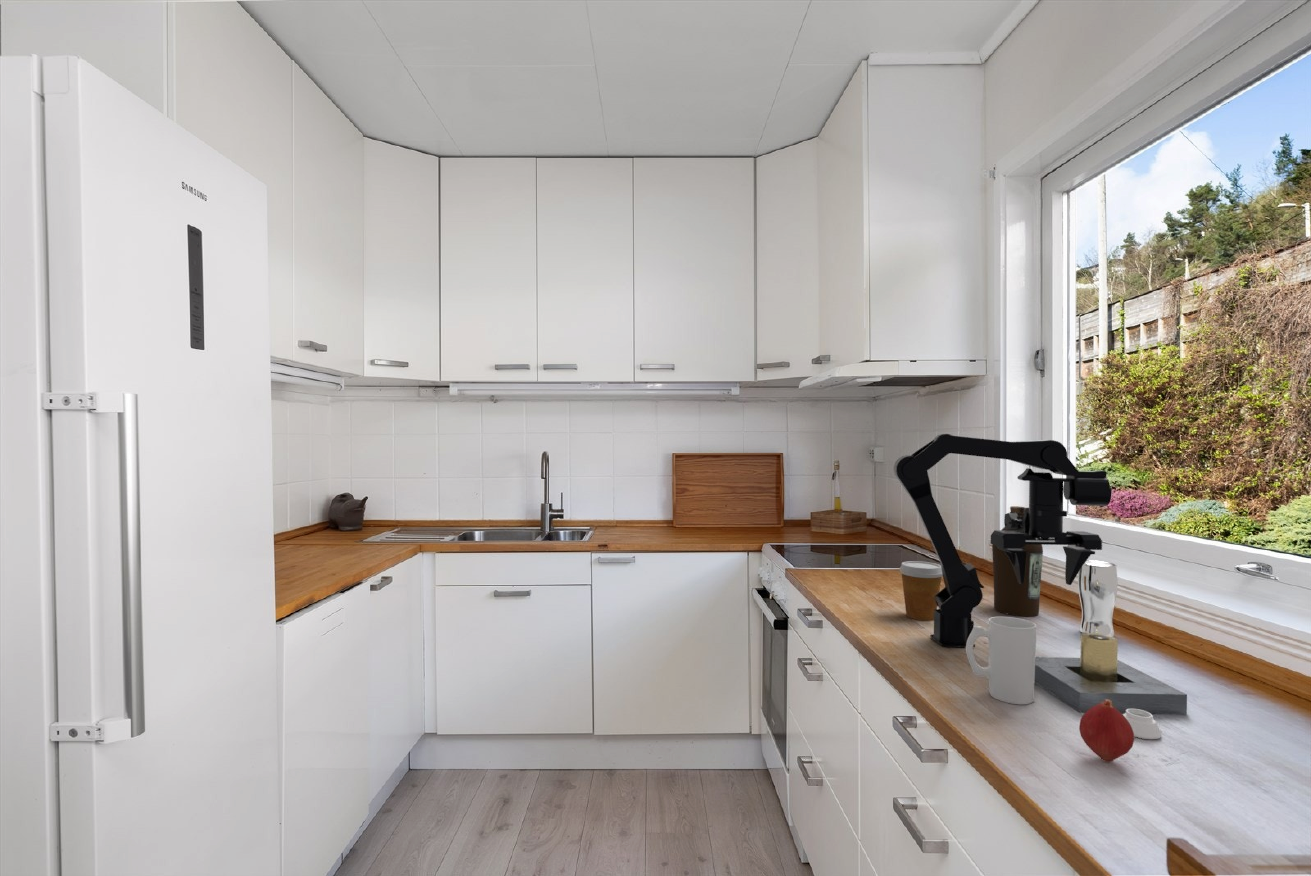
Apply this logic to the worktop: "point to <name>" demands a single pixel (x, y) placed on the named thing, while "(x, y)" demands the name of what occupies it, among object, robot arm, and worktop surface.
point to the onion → (1106, 731)
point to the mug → (1007, 658)
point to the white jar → (1142, 724)
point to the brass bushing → (1098, 657)
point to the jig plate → (1108, 688)
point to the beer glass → (1097, 596)
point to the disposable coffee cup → (920, 588)
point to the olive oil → (1006, 585)
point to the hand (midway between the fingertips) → (1044, 584)
